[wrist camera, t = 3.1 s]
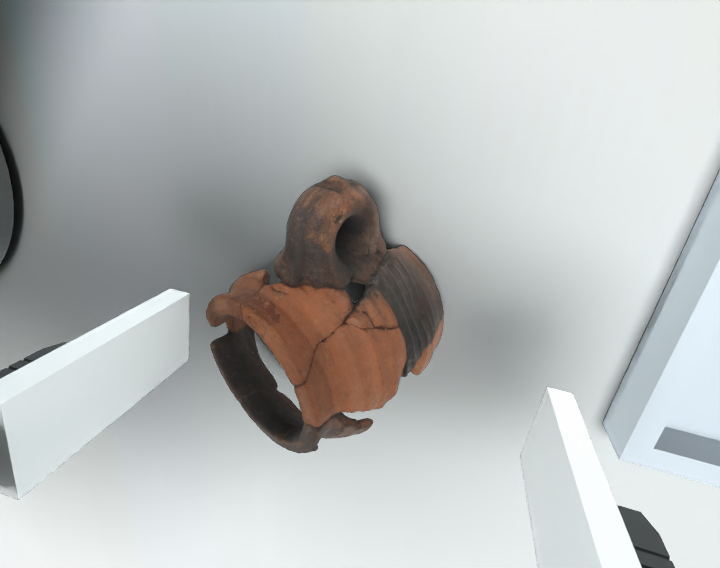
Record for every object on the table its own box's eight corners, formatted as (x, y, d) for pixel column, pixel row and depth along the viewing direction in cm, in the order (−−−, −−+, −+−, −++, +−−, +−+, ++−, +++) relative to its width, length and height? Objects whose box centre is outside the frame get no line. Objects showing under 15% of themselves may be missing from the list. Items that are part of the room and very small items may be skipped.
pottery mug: (447, 397, 22) (338, 515, 17) (321, 323, 28) (208, 396, 22) (485, 172, 16) (328, 252, 11) (310, 130, 21) (147, 170, 16)
